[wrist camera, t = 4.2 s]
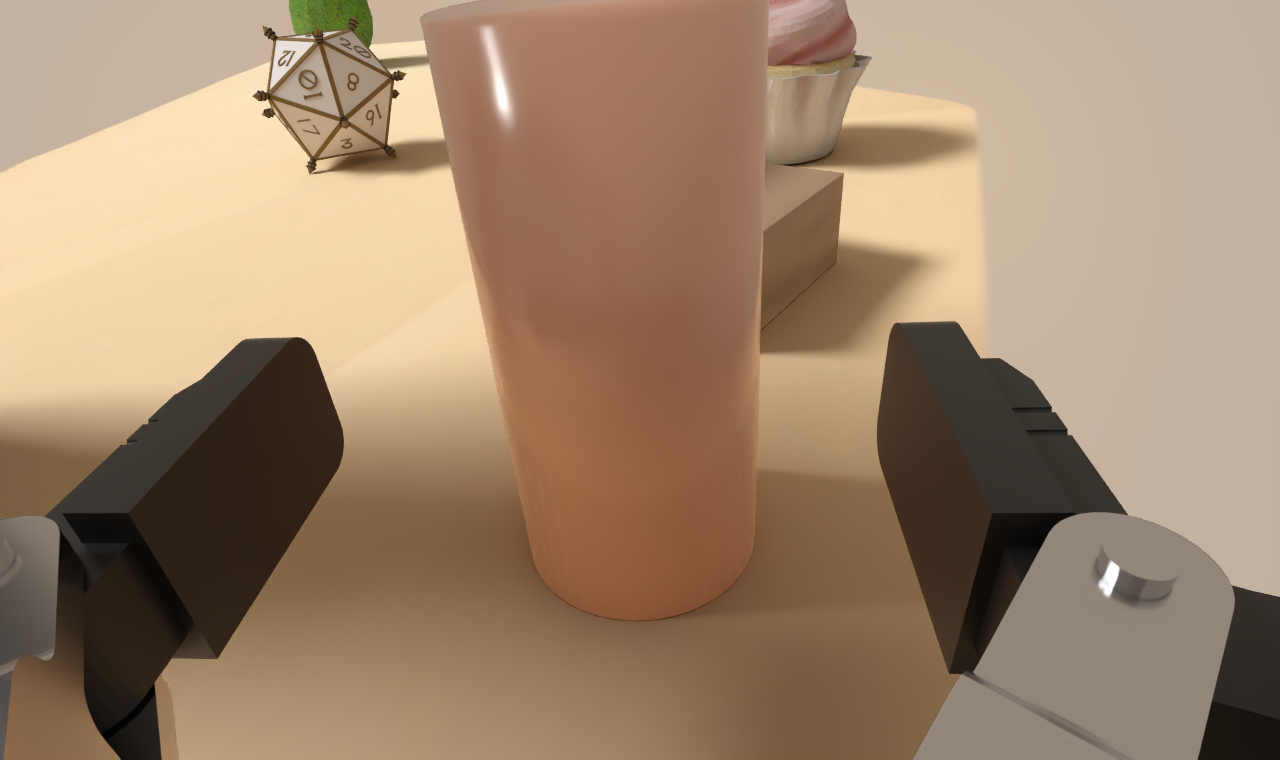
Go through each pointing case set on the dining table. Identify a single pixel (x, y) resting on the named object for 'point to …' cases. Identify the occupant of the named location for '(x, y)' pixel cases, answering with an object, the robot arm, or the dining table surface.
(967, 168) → the dining table surface
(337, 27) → the avocado
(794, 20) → the cupcake
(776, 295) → the walnut base
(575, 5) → the peach cylinder
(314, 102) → the game die
